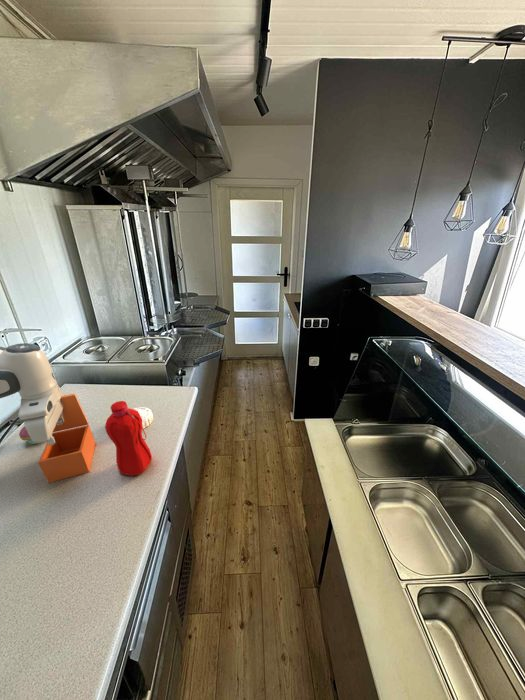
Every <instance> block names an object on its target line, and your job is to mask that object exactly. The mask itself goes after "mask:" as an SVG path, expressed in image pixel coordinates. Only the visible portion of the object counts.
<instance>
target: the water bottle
mask: <svg viewBox="0 0 525 700" xmlns="http://www.w3.org/2000/svg"><path fill="white" fill-rule="evenodd" d="M110 411H111V414H110V415H109V416H108V417H107V419H106V421H105V425H104V428H105V433H106V434H107V436H108V438H109V439H110V440H111V442H112V443H113V444H114V445H115V452H116V453H115V460H116V461H115V462H116V465H117V469H118V471H119V473H120V474H122V475H124V476H125V475H126V476H131V477H133V476H139V475H141V474H143V473H144V472H145V471H146V470H147V469H148V467H149V465H150V464H151V462H152V458H153V454H152V452H151V449H150V447H149V446H148V444H147V442H146V440H147V434H146V432H145V428H144V429H143V427H142V418H141V416H140V414H139V413H138V411H136V410H134V408H130V407H128V404H127V402H126V401H125V400H119V401H115V402H114V403H112V404H111V405H110ZM143 434H144V437H143Z"/></svg>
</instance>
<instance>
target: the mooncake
mask: <svg viewBox="0 0 525 700" xmlns="http://www.w3.org/2000/svg"><path fill="white" fill-rule="evenodd" d="M133 409H134V410H136V411H138V413H139V414H140V416H141V418H142V427H143V429H144V430H145V428H148V427H149V425H151V424H152V422H153V421H154V415H153V412H152V409H150V408H149V407H146V406H138V407H134V408H133Z"/></svg>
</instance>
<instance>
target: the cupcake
mask: <svg viewBox="0 0 525 700" xmlns="http://www.w3.org/2000/svg"><path fill="white" fill-rule="evenodd" d="M18 435H19V438H20V439H21V440H22V441H27V442H28V443H29V444H31V445H37V444H40V443H41V442H38V443H36V442H33V441H32V440H31V438H30V436H29V434H28V432H27V430H26V428H25V426H23V427H21V429H20V431H19V434H18Z"/></svg>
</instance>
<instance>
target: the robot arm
mask: <svg viewBox="0 0 525 700" xmlns="http://www.w3.org/2000/svg"><path fill="white" fill-rule="evenodd" d="M17 393H18V394H19V396H20V406H19V410H18V415H17V416H18V419H19V420H20V421H23V424H24V427H25V428H26V430H27V432H28V434H29V436H30V438H31V440H32V441H33V442H36V443H37V444H39V443H38V442H40V443H44V442H46V444H47V443H48V445H53V444H55V442H56V438H55V436H54V437H53V436H52V433H54V432H53V430H54V428H55V426H56V424H57V425H62V424H63V422H64V419H63V411H62V410H63V408H64V405H63V404H62V402H61V400H60V398H61V396H64V392H63V390H62V388H61V387H60V386H59V385H58V382H57V380H56V378H55V377H54V376H53V368H52V366H51V363H50V361H49V358H48V357H47V354H46V353H45V351H44V350H43V349H42V347H41V346H39V345H37V344H33V343H29V342H25V343H24V342H23V343H22V342H21V343H15V344H12V345H11V344H10V345H8V346H6V347H4V346H0V399H3V398H7V397H9V396H12V395H14V394H17Z"/></svg>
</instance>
